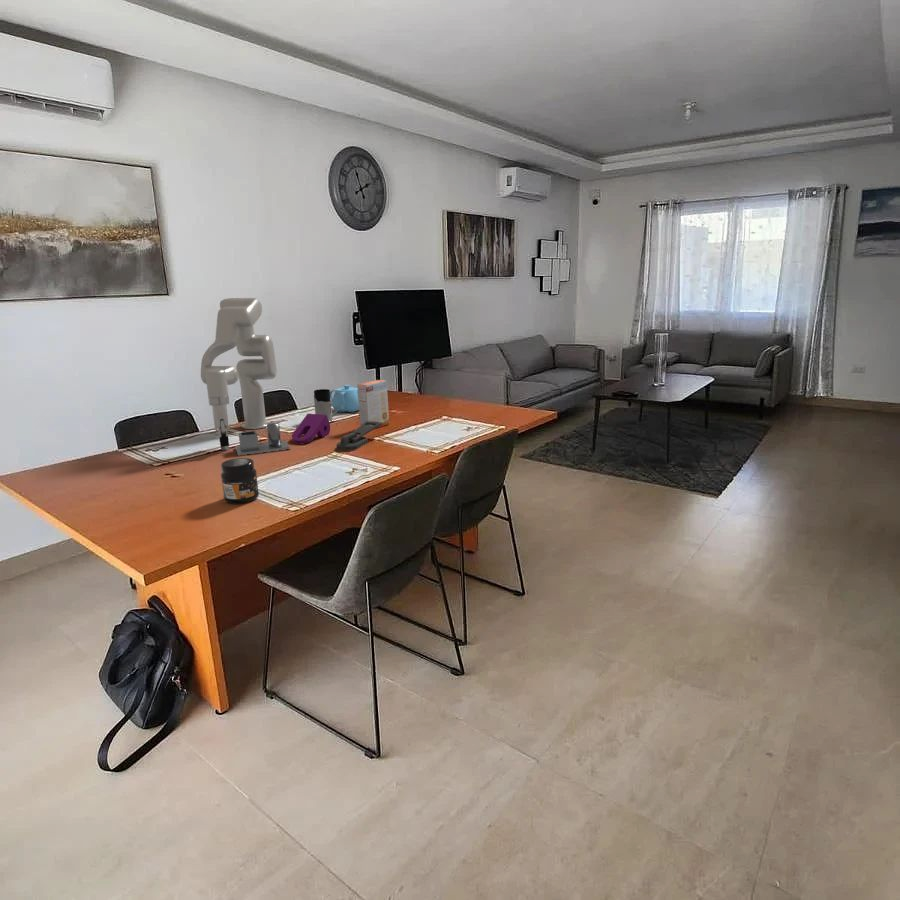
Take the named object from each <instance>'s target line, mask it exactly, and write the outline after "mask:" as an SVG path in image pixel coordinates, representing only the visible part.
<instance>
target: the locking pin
mask: <svg viewBox="0 0 900 900" xmlns="http://www.w3.org/2000/svg"><path fill="white" fill-rule="evenodd" d="M220 429H221V428H220ZM226 429H227V428H226ZM227 430H228V429H227ZM217 431H218V438H219V439H220V432H219V429H217ZM227 436H228V434H227ZM228 437H229V436H228ZM219 439H218V440H219ZM219 446H220V451H221V450H223V451H222V452H227V451H229V450H230V445H229V446H225V447H221V445H220V444H219ZM226 450H227V451H226Z"/></svg>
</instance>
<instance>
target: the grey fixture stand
mask: <svg viewBox="0 0 900 900" xmlns="http://www.w3.org/2000/svg"><path fill="white" fill-rule="evenodd" d="M266 431H267V441H266V442H259V437H258V433H257V431H256V430H251V431H250V430H249V431H241V432H238V438H239V440H238V441H239V444H238V445H234V448H235V451H237V452H236V453H237V456H238V457H241V456H240V455H243V456H248V455H247V454H251V455H255V454H254V453H259V454H264V453H263V452H267V453H272V452H271V451H276V452H280V451H279V450H284V451H287V450H286V449H290V450H291V446H290V445H289V443H288V442H287V440H286V439H283V440H281V429H280V423H279V422H269V423H268V424H267V427H266Z"/></svg>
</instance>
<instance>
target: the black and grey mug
mask: <svg viewBox="0 0 900 900" xmlns="http://www.w3.org/2000/svg"><path fill="white" fill-rule="evenodd" d="M330 391H331V390H330V389H328V388H326V389H325V388H323V389H322V388H321V389H320V388H319V389H315V390H314V391H313V393H314V394H313V400H314V414H321V415H327V418H328V421H332V420H333V421H334V419H333V417H334V415H335V414H336V413H338V410H339V409H340V408H341V406H342V404H343V395H342V394H341V393H339V394H341V395H342V404H341V406H340V408H339V409H338V410H337V411H336V410H335V411H334V412H333V413H332V409H333V407H332V405H331V402H333V401H334V400H335V395H336V394H337V393H336V394H335V393H334V394H335V395H334V394H333V396H334V400H333V401H332V400H331V397H330Z"/></svg>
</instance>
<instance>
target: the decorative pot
mask: <svg viewBox="0 0 900 900" xmlns="http://www.w3.org/2000/svg"><path fill="white" fill-rule="evenodd" d="M333 392H334V394H333ZM336 393H337V394H336ZM339 393H341V394H342V395H343V404H342V395H341V394H339ZM335 394H336V395H335ZM334 395H335V400H334ZM330 400H331V401H333V400H334V401H333V402H331V407H332V409H334V411H335V412H336V411H337V410H338V409H339V408H340V406H341V404H342V406H341V408H340V409H339V410H338V411H337V413H344V412H349V413H350V414H354V413H356V411H357V412H358V411H359V401H358V388H357V387H353V386H351V385H350V384H344V385H343V387H339V388H337V389H331V390H330Z"/></svg>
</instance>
